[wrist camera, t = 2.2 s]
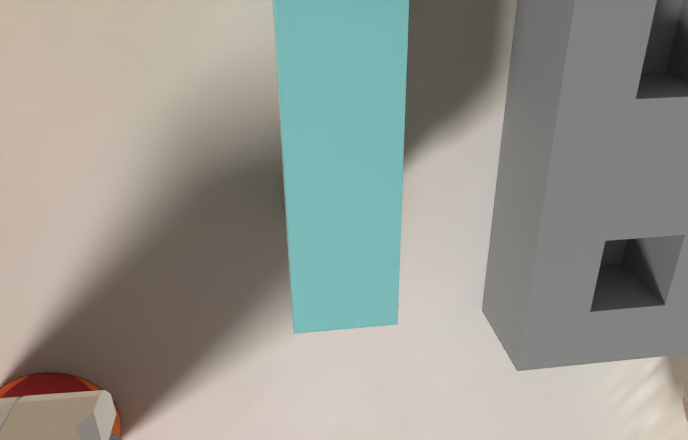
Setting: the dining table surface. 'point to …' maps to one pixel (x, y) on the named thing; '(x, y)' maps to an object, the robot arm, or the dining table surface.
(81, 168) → the dining table surface
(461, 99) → the dining table surface
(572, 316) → the gray socket block
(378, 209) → the notched turquoise block
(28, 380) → the paper cup
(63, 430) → the robot arm
